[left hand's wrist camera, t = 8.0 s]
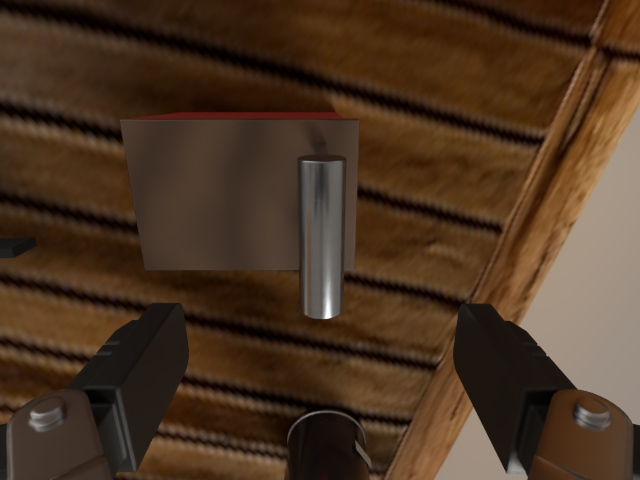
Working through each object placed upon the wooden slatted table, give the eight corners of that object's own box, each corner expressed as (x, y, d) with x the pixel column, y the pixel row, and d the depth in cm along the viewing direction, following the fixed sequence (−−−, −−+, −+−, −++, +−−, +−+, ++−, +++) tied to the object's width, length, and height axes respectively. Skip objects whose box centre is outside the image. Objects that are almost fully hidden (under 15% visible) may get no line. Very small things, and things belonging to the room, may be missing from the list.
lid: (357, 118, 25) (379, 130, 16) (353, 264, 28) (368, 341, 19) (127, 118, 25) (19, 131, 16) (150, 264, 28) (73, 341, 19)
